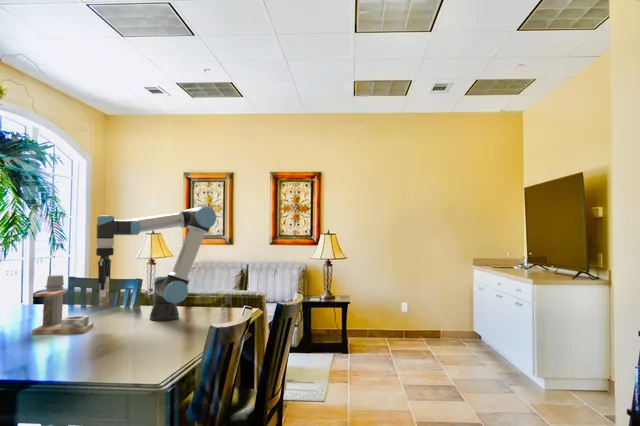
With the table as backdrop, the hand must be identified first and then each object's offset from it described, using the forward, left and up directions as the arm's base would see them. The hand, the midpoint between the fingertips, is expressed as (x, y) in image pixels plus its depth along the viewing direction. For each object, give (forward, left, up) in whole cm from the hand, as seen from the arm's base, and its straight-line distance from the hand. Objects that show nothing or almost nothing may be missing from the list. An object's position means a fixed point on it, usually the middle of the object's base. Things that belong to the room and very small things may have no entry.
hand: (104, 295), depth 206 cm
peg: (0, 0, -5) cm, 5 cm away
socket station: (+17, -1, -16) cm, 24 cm away
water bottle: (+27, -12, -17) cm, 34 cm away
